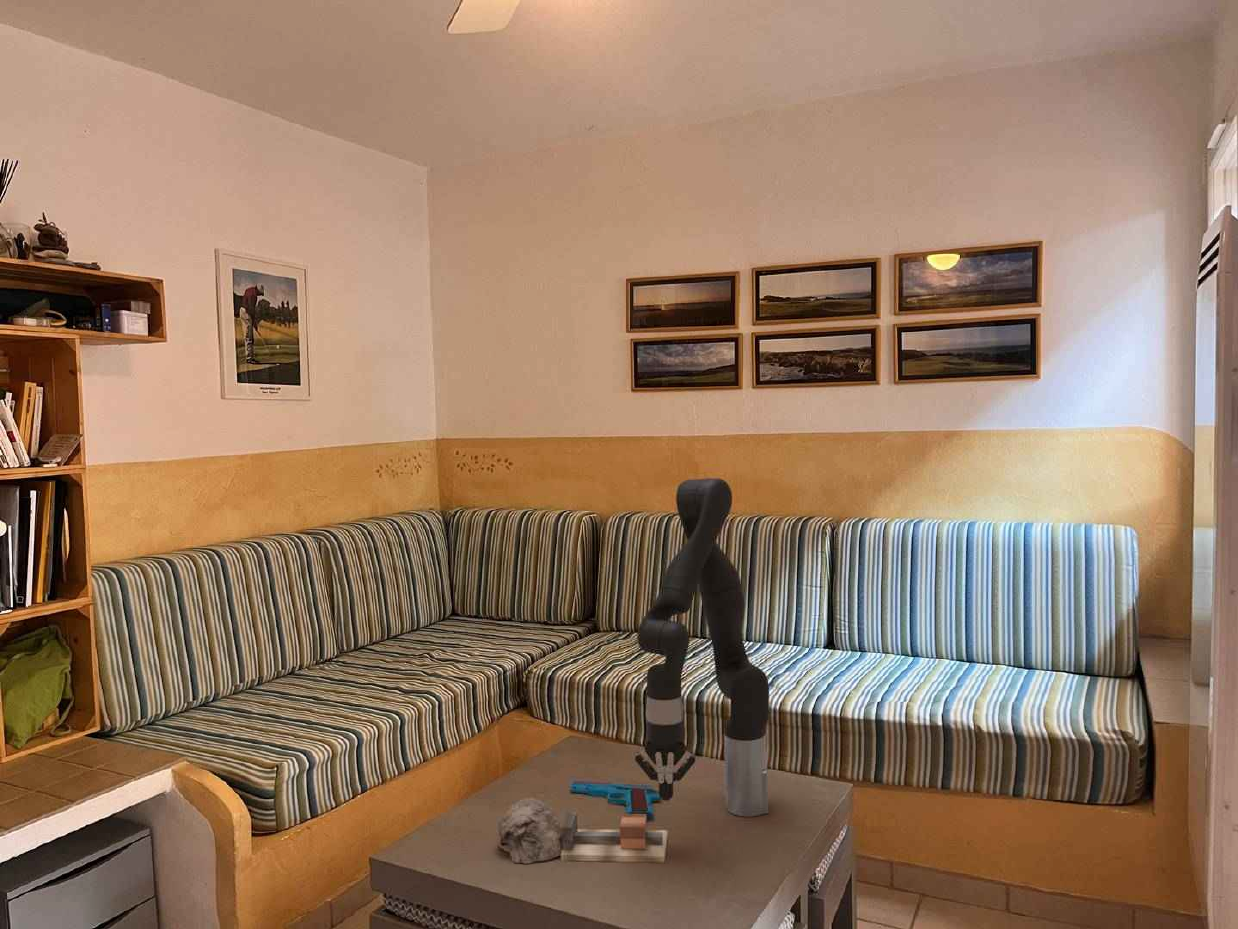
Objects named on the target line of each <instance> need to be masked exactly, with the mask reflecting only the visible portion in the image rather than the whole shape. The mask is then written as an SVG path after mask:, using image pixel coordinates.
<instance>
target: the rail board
mask: <svg viewBox="0 0 1238 929" xmlns="http://www.w3.org/2000/svg"><path fill="white" fill-rule="evenodd" d="M668 833H669V832H668V830H663V829H662V830H659V829H657V830H655V829H653V830H651V829H650V830H649V829H647V832H646V848H645V849H622V848H621V840H620V829H586V828H585V829H582V828H581V829H579V828H578V812H577V811H567V813H566V815H565V818H564V820H563V823H562V825H561V834H562V842H563V850H562V853H561V855H560V861H563V862H565V861H569V862H571V861H573V862H575V861H576V862H620V863H621V862H624V863H627V862H629V863H630V862H631V863H632V862H633V863H665V860H666V854H667V853H666V852H667V844H668V838H669V836H668Z"/></svg>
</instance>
